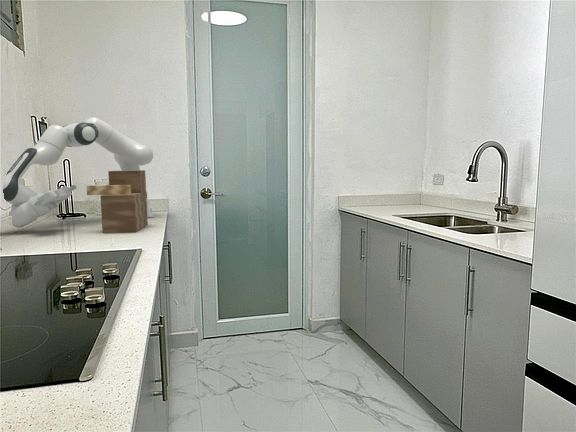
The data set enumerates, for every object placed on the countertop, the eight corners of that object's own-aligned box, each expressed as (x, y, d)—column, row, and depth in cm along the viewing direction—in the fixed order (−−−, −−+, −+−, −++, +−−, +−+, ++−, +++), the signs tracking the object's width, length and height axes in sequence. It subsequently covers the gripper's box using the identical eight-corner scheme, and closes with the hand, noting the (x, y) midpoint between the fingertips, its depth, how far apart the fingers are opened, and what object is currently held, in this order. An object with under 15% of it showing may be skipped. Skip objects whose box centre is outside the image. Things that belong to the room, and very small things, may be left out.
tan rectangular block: (86, 195, 204) (86, 185, 204) (89, 194, 207) (88, 185, 207) (129, 194, 205) (129, 185, 205) (131, 194, 208) (130, 184, 208)
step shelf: (117, 225, 225) (114, 170, 222) (147, 225, 226) (145, 170, 223) (102, 233, 202) (99, 171, 199) (136, 232, 203) (133, 171, 200)
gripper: (28, 198, 194) (57, 181, 194) (49, 195, 214) (75, 179, 214) (37, 211, 195) (66, 194, 195) (57, 207, 215) (83, 191, 215)
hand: (71, 186), depth 205 cm, fingers open, 8 cm apart
